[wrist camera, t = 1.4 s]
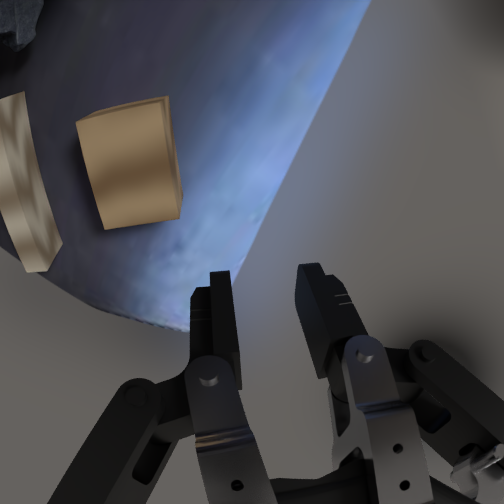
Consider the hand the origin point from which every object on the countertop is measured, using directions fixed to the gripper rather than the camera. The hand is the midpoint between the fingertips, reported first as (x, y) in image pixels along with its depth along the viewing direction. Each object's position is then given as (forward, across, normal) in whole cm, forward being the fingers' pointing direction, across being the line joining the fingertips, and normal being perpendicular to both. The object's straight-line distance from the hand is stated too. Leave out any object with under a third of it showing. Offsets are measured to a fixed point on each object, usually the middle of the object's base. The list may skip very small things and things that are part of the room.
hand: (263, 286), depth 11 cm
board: (+19, +22, 0) cm, 29 cm away
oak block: (+19, +8, 0) cm, 21 cm away
